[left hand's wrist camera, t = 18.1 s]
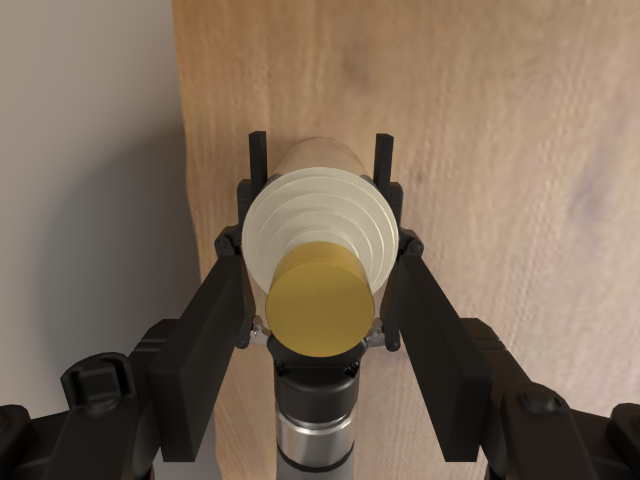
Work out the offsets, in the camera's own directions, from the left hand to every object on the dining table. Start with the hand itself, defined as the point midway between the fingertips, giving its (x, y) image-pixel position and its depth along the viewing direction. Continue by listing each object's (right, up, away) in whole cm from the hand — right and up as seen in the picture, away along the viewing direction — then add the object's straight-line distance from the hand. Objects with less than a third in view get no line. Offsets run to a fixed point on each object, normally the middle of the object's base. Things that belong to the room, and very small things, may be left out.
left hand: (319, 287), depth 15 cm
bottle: (0, +7, +18) cm, 19 cm away
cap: (0, -1, -1) cm, 2 cm away
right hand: (0, +9, +11) cm, 14 cm away
